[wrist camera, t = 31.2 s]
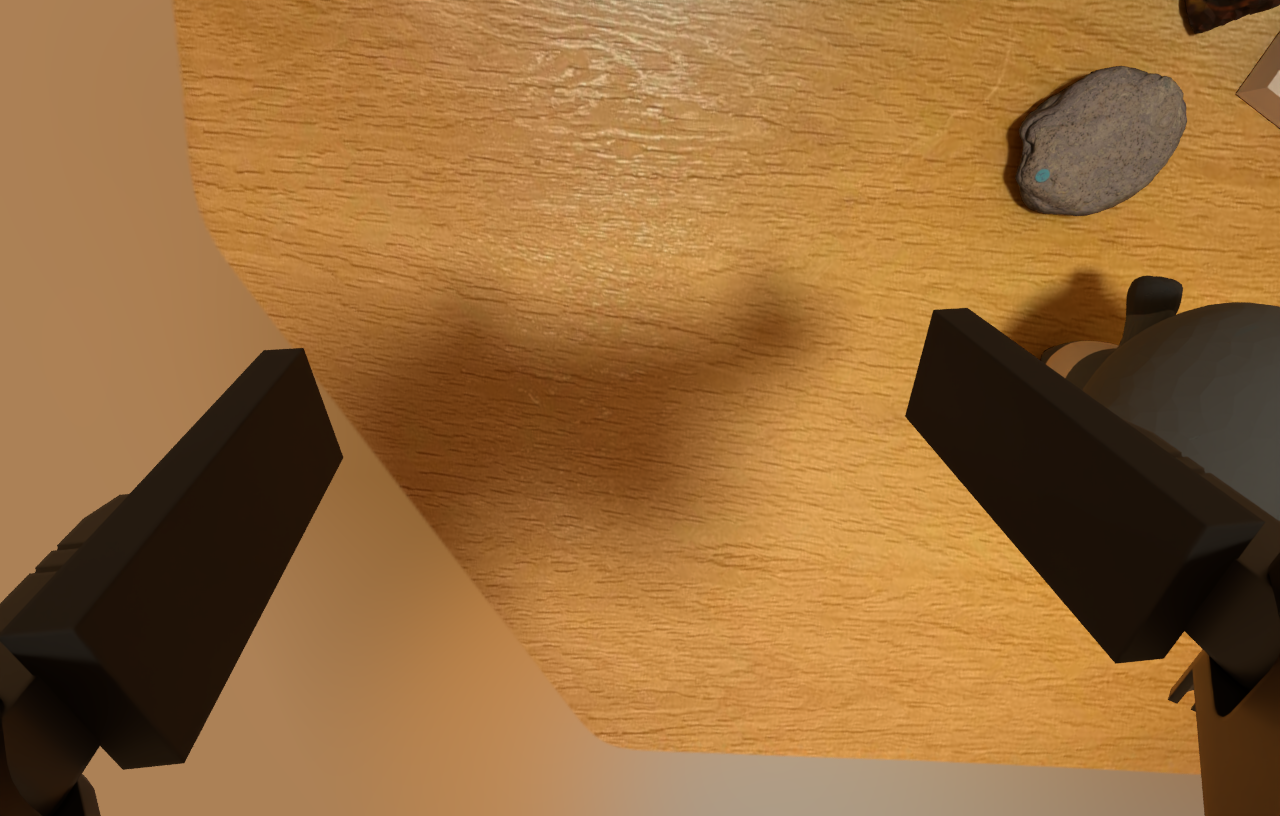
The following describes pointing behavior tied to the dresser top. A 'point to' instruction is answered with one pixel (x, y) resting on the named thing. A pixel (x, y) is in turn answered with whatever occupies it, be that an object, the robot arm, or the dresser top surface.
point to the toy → (1193, 382)
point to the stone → (1099, 141)
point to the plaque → (1265, 84)
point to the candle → (1222, 11)
